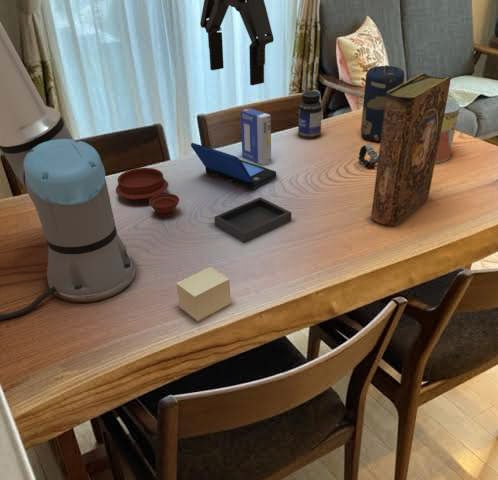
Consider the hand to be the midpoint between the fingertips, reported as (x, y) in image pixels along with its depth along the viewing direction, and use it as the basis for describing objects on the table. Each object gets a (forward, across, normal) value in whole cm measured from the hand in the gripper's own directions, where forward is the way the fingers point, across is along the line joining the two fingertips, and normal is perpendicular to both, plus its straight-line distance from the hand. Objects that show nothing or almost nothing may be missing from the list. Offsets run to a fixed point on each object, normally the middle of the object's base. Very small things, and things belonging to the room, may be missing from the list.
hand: (236, 76), depth 105 cm
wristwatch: (+25, -6, -34) cm, 43 cm away
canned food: (+25, -11, -49) cm, 56 cm away
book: (+25, -26, -22) cm, 43 cm away
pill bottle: (+25, +18, -36) cm, 47 cm away
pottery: (+26, +10, +17) cm, 33 cm away
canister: (+25, +5, -49) cm, 55 cm away
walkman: (+25, +14, -15) cm, 33 cm away
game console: (+25, +8, -4) cm, 27 cm away
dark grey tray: (+25, -12, +5) cm, 28 cm away
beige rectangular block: (+26, -29, +28) cm, 48 cm away
